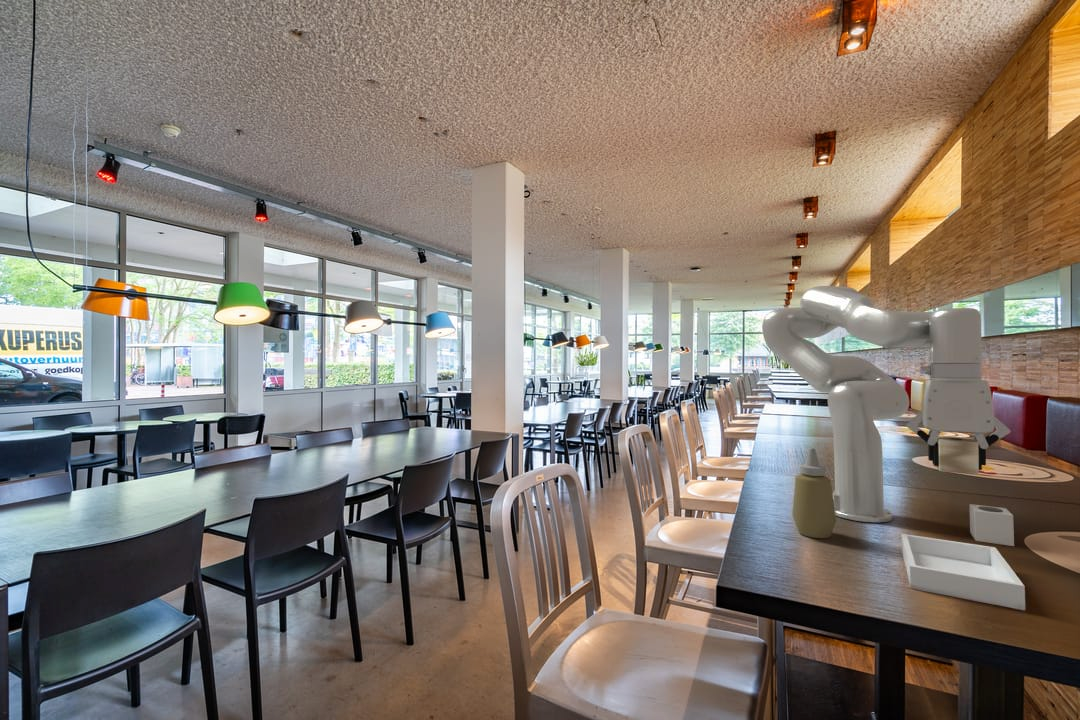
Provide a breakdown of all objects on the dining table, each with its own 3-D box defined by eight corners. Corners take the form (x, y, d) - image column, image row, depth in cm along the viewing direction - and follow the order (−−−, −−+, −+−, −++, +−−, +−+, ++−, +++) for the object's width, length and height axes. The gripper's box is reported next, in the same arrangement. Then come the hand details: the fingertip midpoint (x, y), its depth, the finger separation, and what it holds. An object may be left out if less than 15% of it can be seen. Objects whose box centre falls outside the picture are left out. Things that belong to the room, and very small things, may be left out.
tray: (910, 588, 75) (909, 566, 75) (901, 552, 89) (901, 533, 89) (1025, 610, 67) (1024, 586, 68) (995, 567, 82) (995, 547, 82)
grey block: (975, 541, 94) (974, 510, 94) (970, 532, 99) (969, 503, 99) (1014, 546, 91) (1013, 515, 91) (1006, 537, 95) (1005, 507, 96)
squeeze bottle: (821, 544, 94) (819, 453, 94) (784, 531, 101) (782, 447, 101) (845, 536, 97) (843, 449, 98) (807, 525, 104) (805, 444, 105)
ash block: (939, 471, 90) (939, 439, 90) (935, 465, 94) (935, 435, 94) (978, 474, 87) (978, 441, 87) (972, 468, 91) (972, 437, 91)
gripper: (900, 373, 92) (901, 465, 92) (1023, 373, 82) (1024, 476, 83) (897, 372, 98) (898, 458, 98) (1011, 372, 89) (1012, 468, 89)
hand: (956, 465), depth 90 cm, fingers closed on ash block, 5 cm apart
